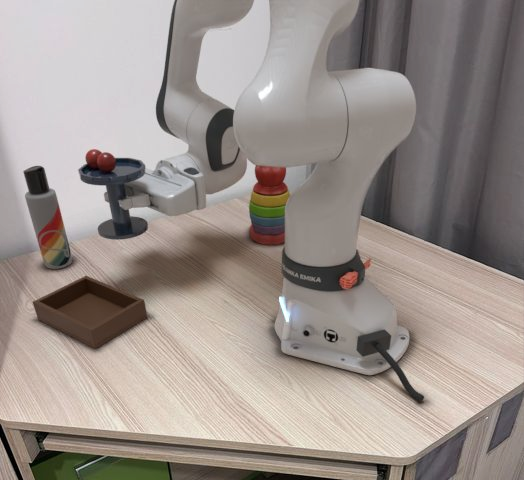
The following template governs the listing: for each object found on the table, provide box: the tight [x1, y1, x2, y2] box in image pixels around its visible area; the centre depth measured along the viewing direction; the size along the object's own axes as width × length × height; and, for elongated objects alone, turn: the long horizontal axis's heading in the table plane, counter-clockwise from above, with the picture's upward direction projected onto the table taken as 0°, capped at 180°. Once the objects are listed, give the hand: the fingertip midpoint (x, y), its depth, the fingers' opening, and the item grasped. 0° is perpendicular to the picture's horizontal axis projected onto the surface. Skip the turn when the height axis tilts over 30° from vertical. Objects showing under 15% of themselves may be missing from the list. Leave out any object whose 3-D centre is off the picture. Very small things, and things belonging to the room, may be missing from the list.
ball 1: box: [84, 148, 103, 169], centre depth 93 cm, size 3×3×3 cm
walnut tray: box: [32, 275, 148, 349], centre depth 94 cm, size 16×12×4 cm
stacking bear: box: [248, 165, 291, 245], centre depth 117 cm, size 11×10×18 cm
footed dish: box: [77, 157, 149, 241], centre depth 95 cm, size 11×11×11 cm
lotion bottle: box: [22, 165, 73, 270], centre depth 107 cm, size 6×6×20 cm
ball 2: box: [97, 151, 116, 172], centre depth 91 cm, size 3×3×3 cm
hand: (113, 201), depth 95 cm, fingers closed on footed dish, 3 cm apart
